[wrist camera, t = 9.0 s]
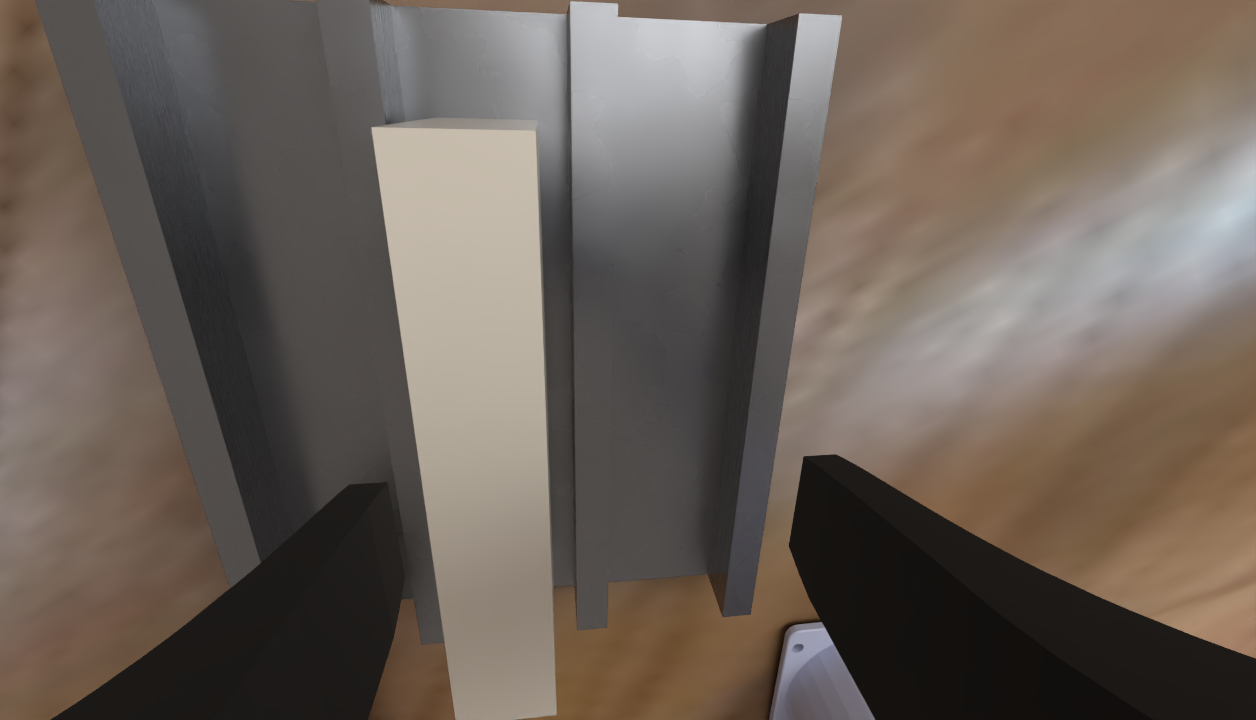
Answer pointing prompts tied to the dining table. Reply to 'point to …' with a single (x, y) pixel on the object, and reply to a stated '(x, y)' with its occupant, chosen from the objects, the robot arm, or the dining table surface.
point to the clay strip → (478, 395)
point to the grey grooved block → (362, 276)
